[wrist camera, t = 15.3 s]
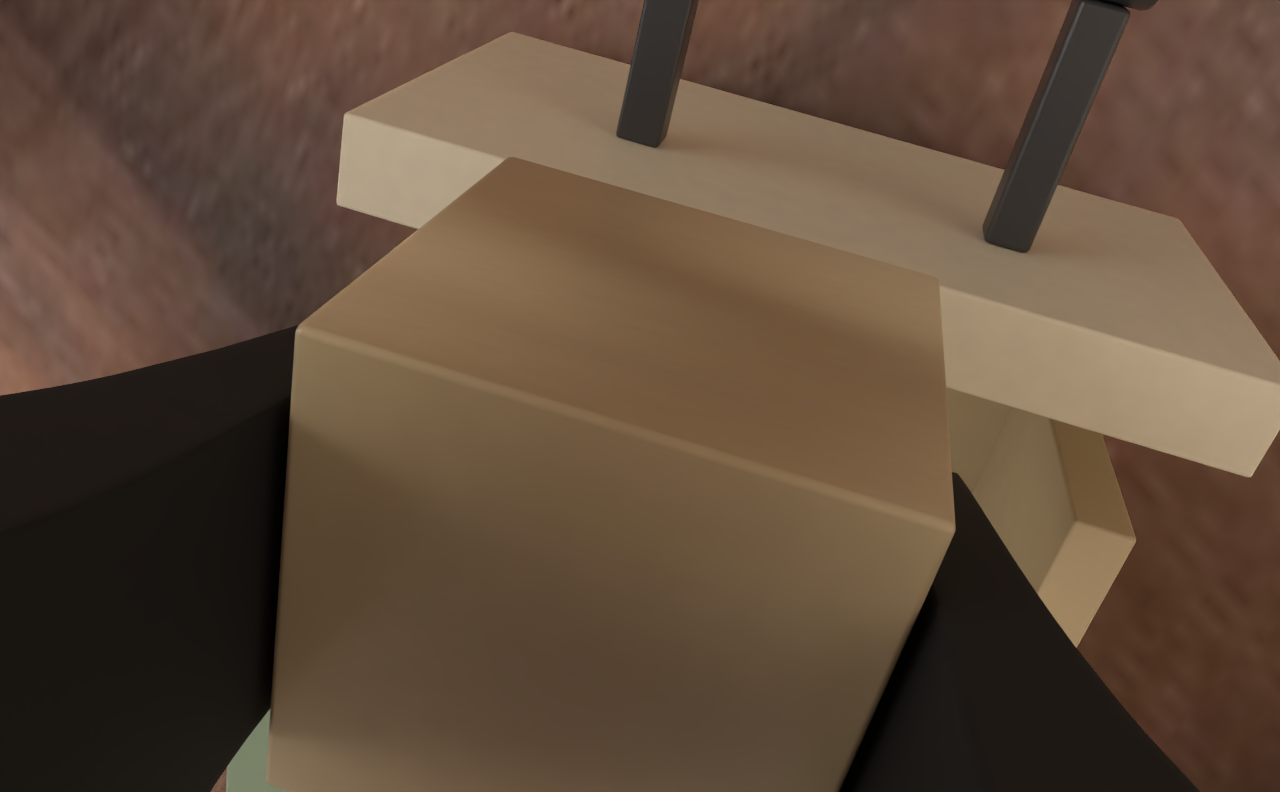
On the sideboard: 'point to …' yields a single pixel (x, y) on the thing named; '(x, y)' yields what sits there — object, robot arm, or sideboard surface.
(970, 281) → the drawer
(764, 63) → the sideboard surface
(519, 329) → the block
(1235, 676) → the sideboard surface
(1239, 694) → the sideboard surface
